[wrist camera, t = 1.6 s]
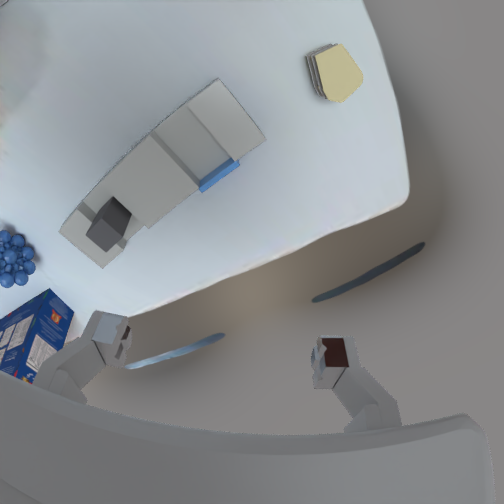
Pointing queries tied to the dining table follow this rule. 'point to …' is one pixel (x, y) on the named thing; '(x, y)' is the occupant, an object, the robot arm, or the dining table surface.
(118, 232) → the dark grey rectangular box
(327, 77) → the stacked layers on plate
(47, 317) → the pasta box
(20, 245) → the grapes
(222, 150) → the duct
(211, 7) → the dining table surface
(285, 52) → the dining table surface
